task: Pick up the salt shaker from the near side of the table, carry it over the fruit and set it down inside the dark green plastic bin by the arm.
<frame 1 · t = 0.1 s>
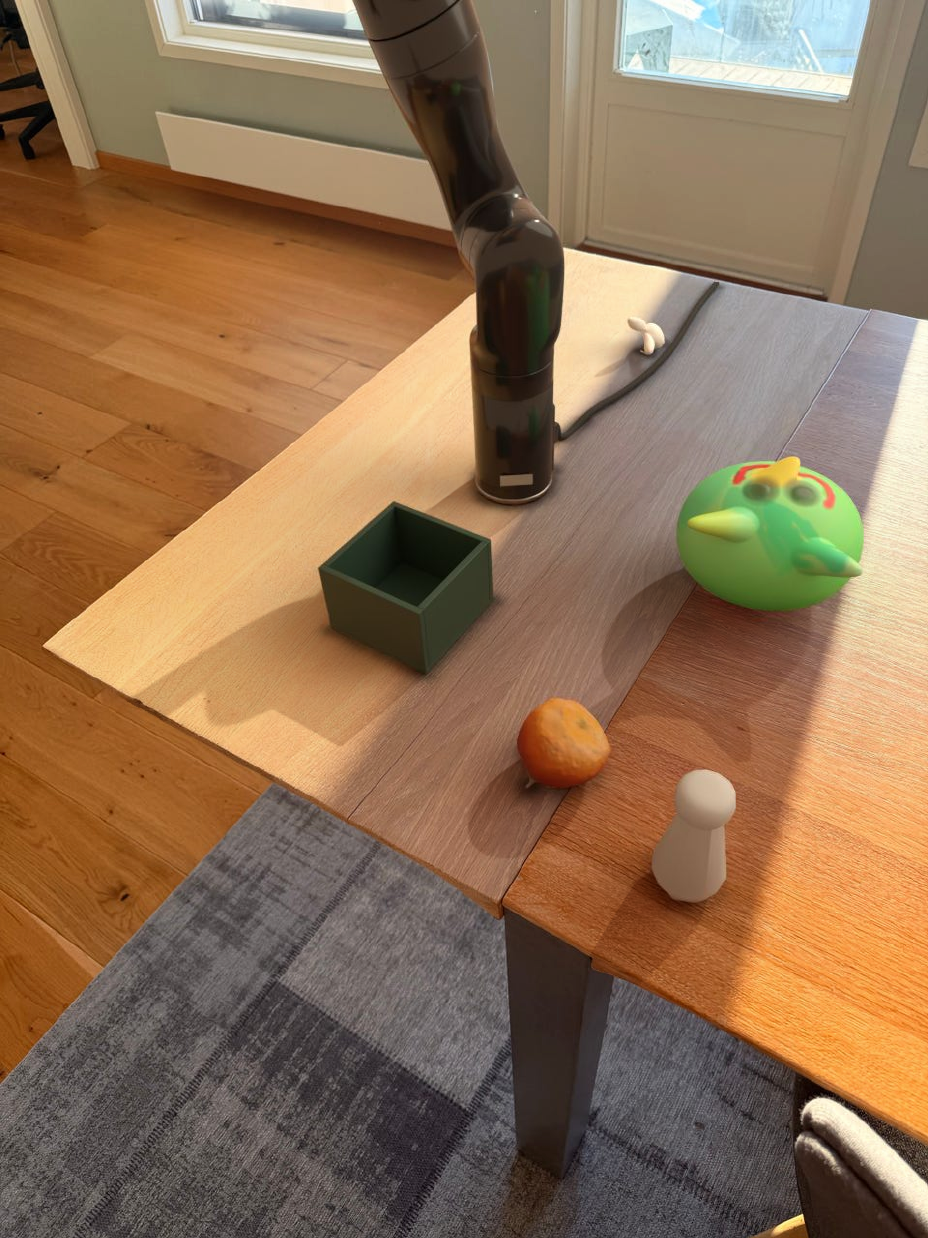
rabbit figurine: (644, 353, 132), on the table
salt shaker: (684, 881, 73), on the table
toy bird: (754, 590, 96), on the table
bin: (413, 614, 96), on the table
fruit: (561, 768, 82), on the table
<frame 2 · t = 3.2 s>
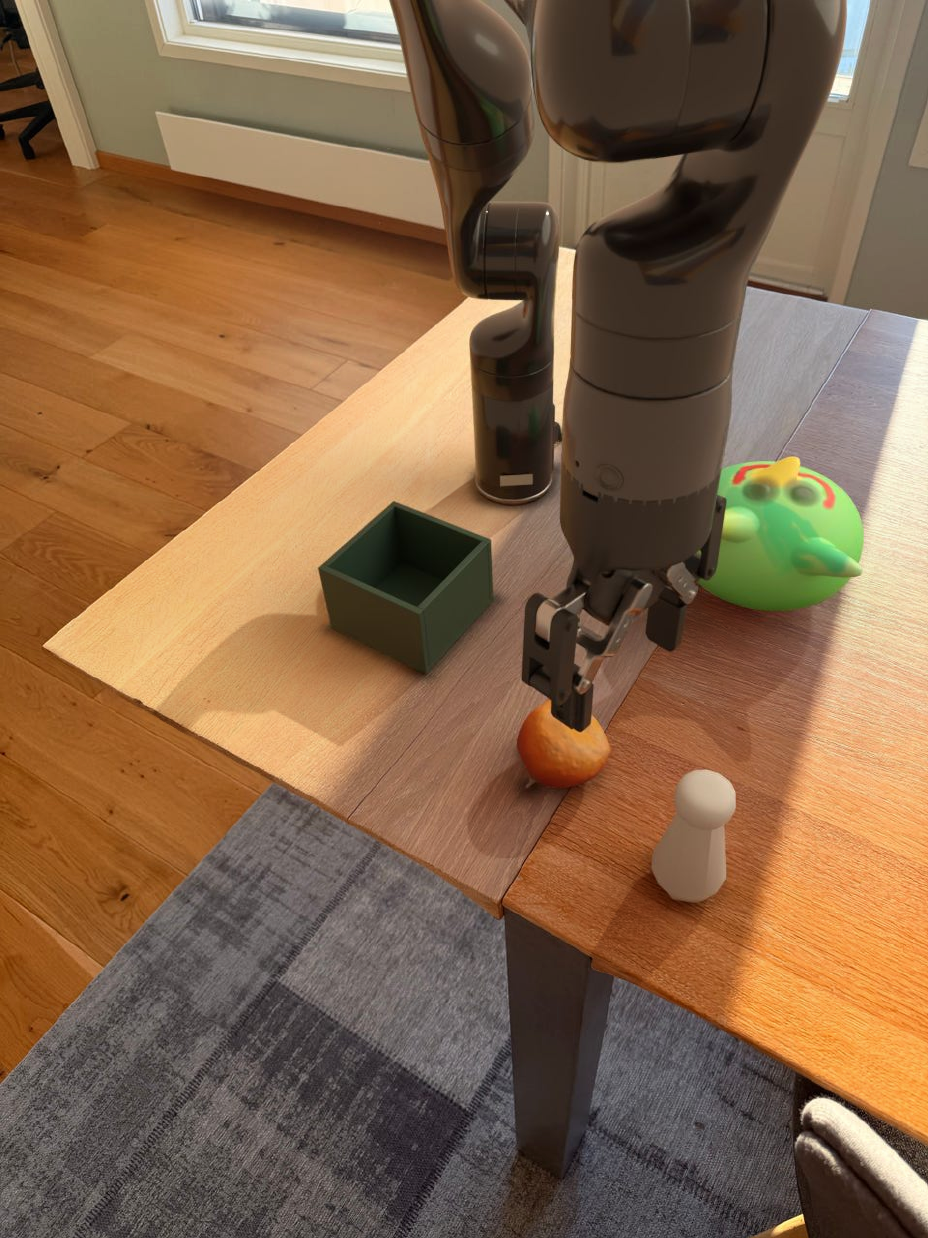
hand: (618, 680, 54), 27 cm above the table, tool pointing down, fingers open, 8 cm apart
nothing on the table moved.
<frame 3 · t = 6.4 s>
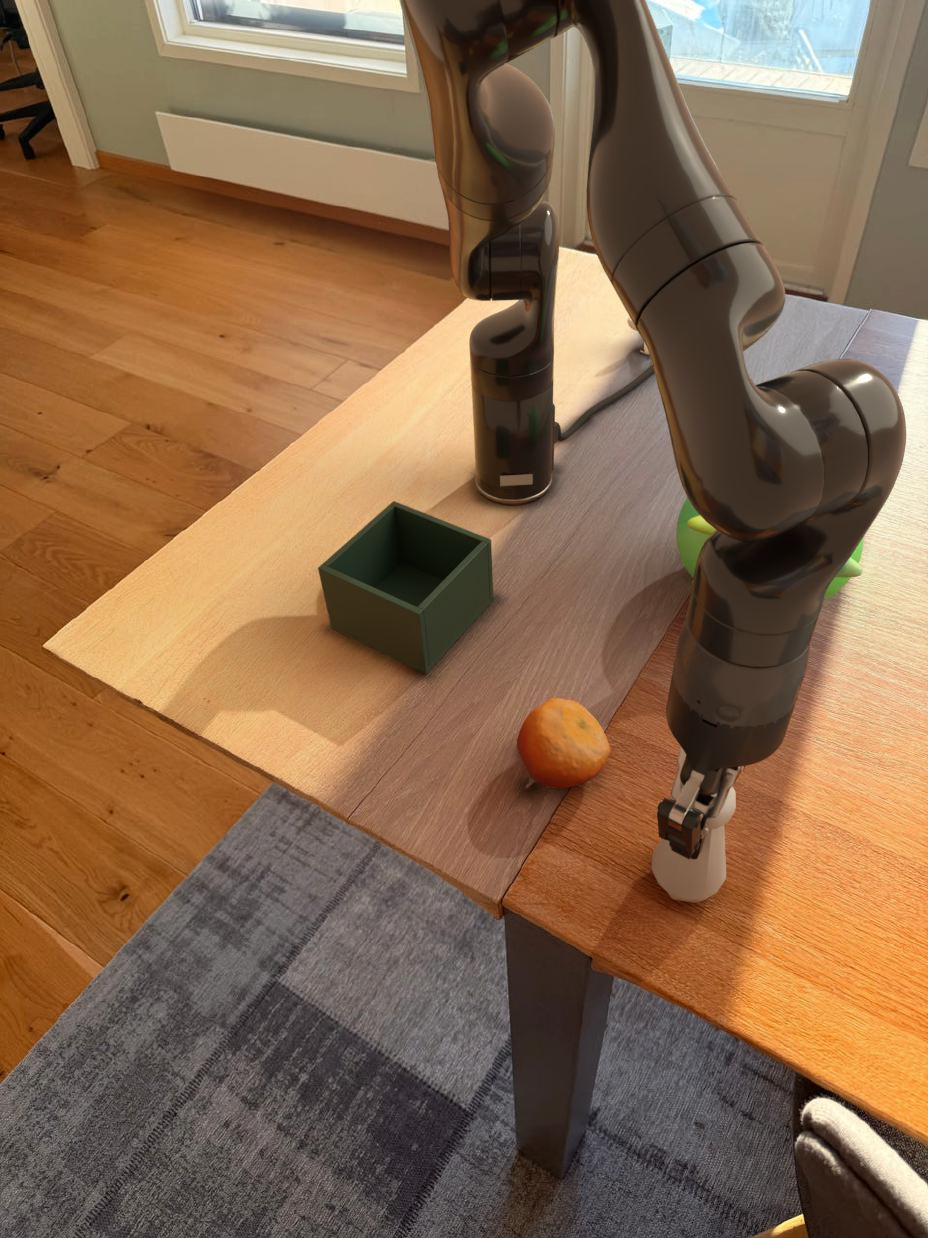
hand: (698, 825, 67), 8 cm above the table, tool pointing down, fingers closed on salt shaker, 4 cm apart
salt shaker: (684, 881, 73), on the table, touching gripper
everything else where it was.
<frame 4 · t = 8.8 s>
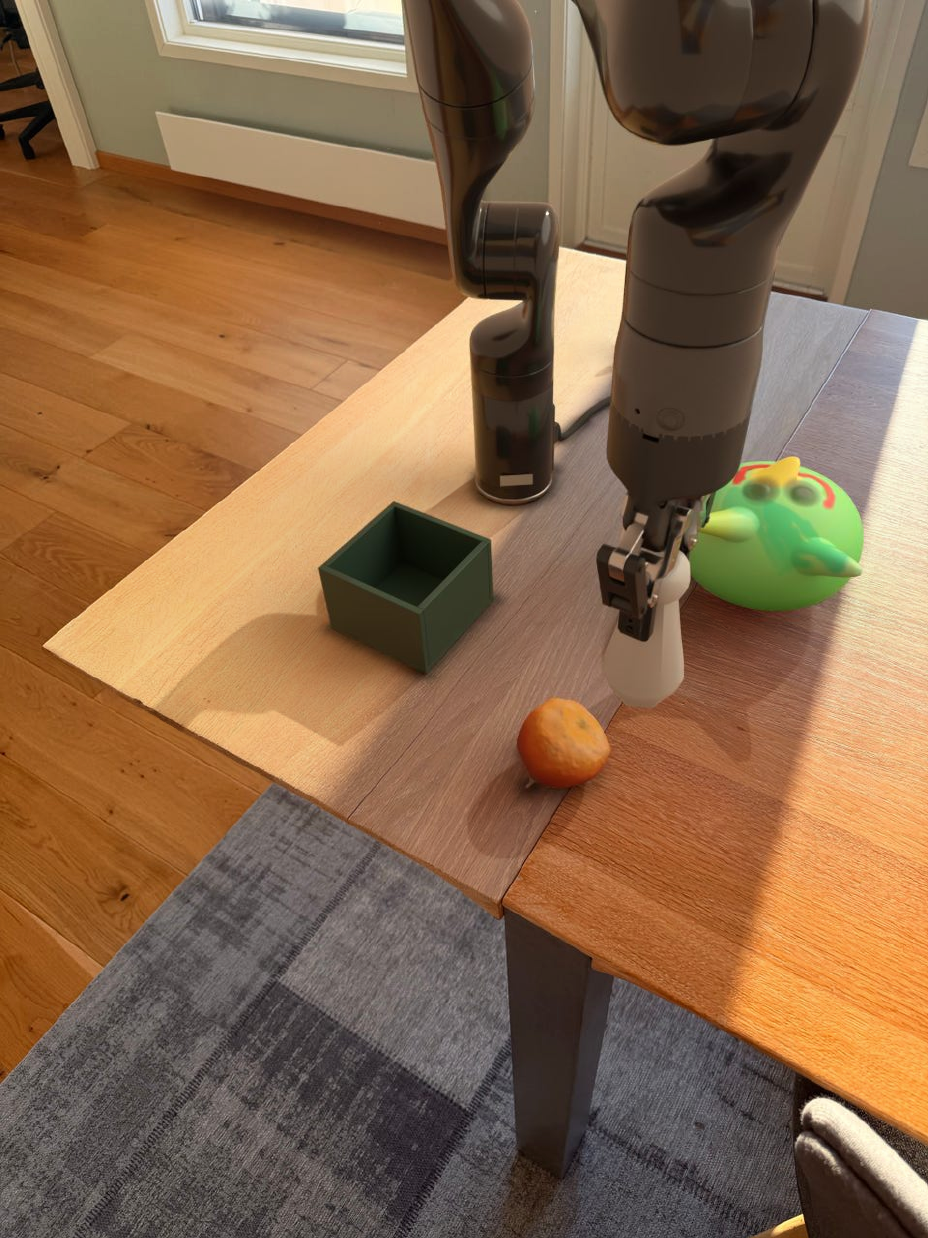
hand: (650, 610, 61), 24 cm above the table, tool pointing down, fingers closed on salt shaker, 4 cm apart
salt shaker: (640, 689, 67), point 16 cm above the table, touching gripper
everything else where it was.
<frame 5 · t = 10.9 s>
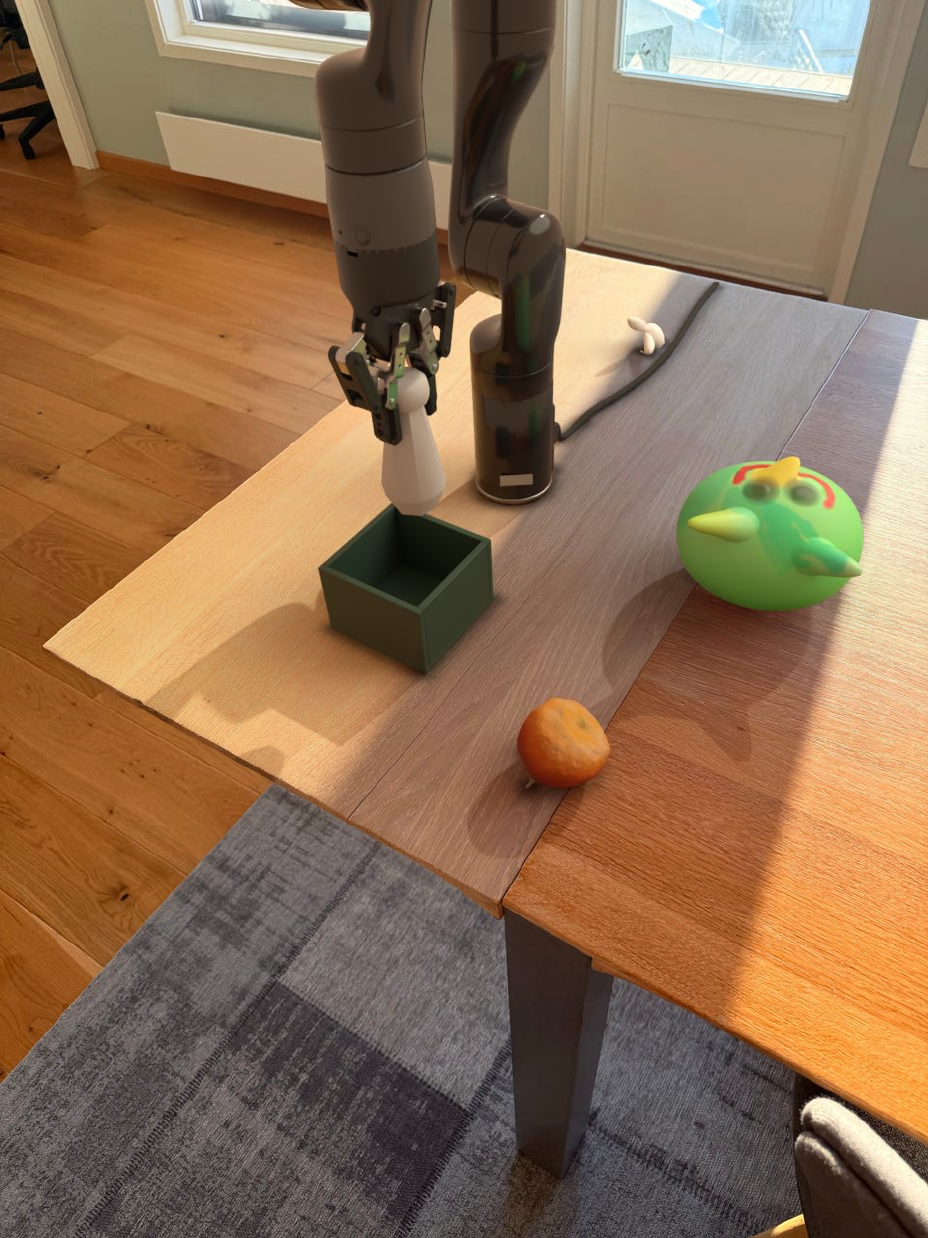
hand: (407, 425, 77), 25 cm above the table, tool pointing down, fingers closed on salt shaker, 4 cm apart
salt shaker: (416, 503, 83), point 16 cm above the table, touching gripper
everything else where it was.
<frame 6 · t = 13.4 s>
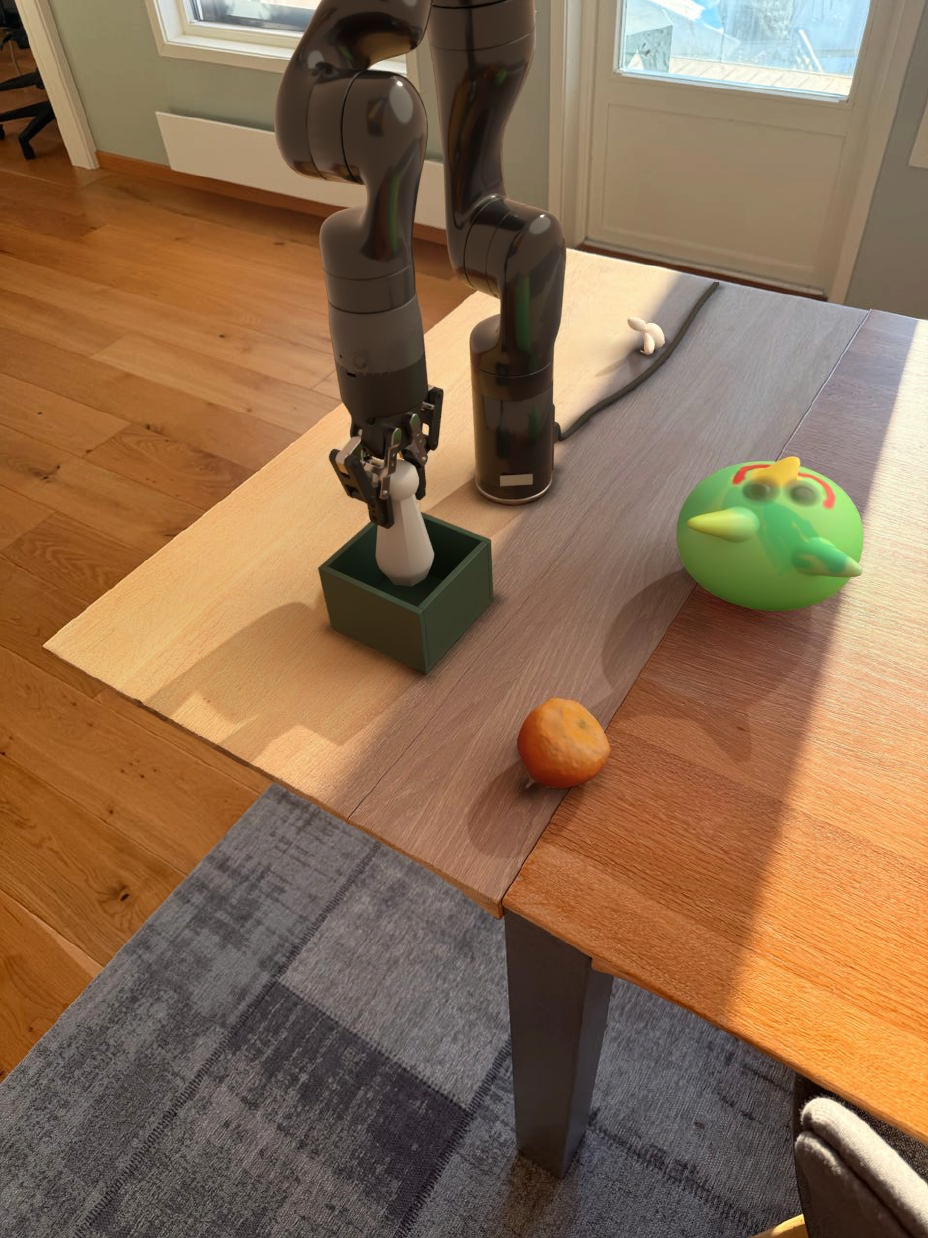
hand: (399, 509, 86), 14 cm above the table, tool pointing down, fingers closed on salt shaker, 4 cm apart
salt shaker: (407, 574, 92), point 6 cm above the table, touching gripper
everything else where it was.
when the fingers open (9 cm above the table, at t = 15.2 s): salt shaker stays where it is, resting on bin.
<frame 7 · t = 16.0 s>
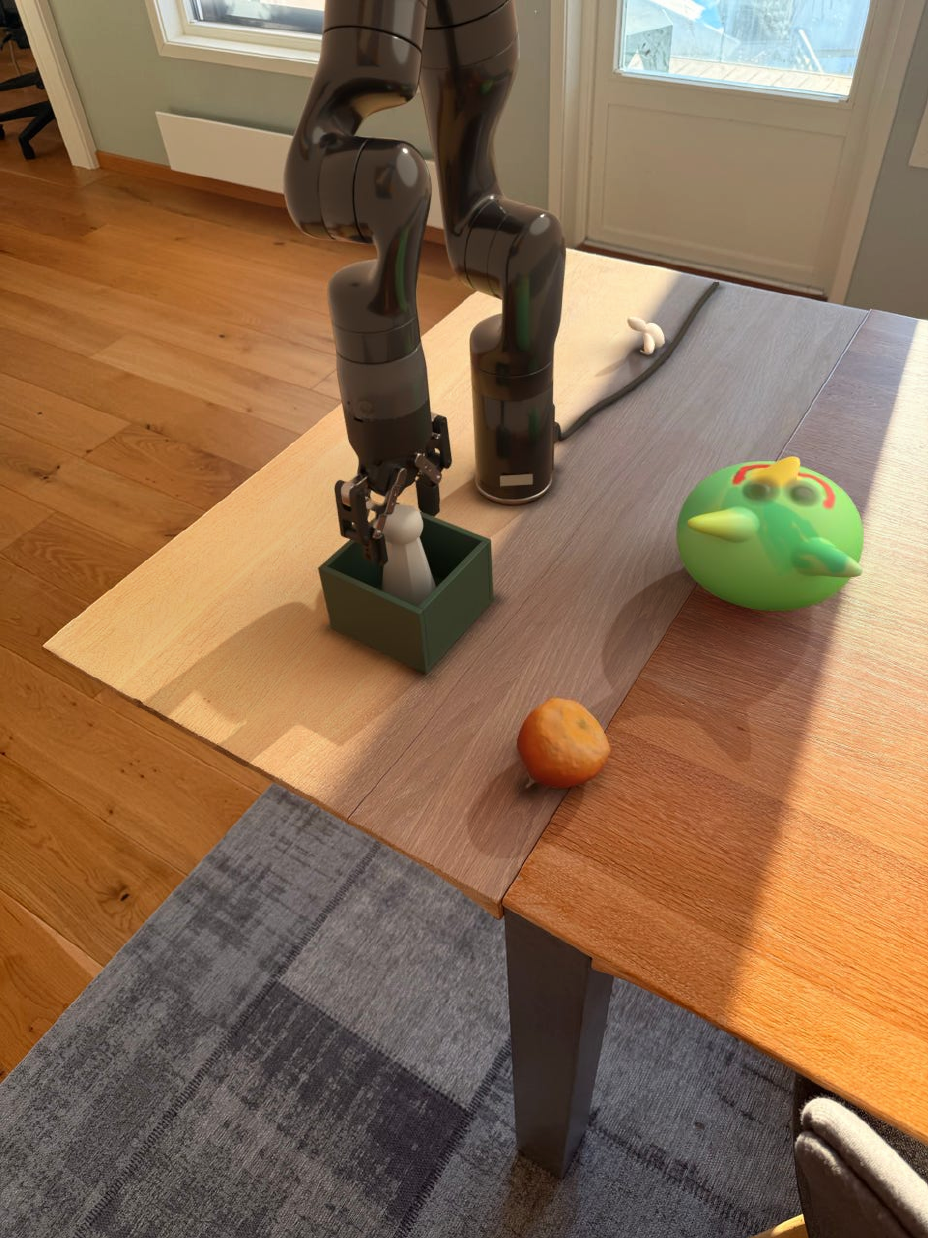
hand: (403, 536, 89), 11 cm above the table, tool pointing down, fingers open, 8 cm apart
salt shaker: (411, 611, 96), resting on bin
everything else where it was.
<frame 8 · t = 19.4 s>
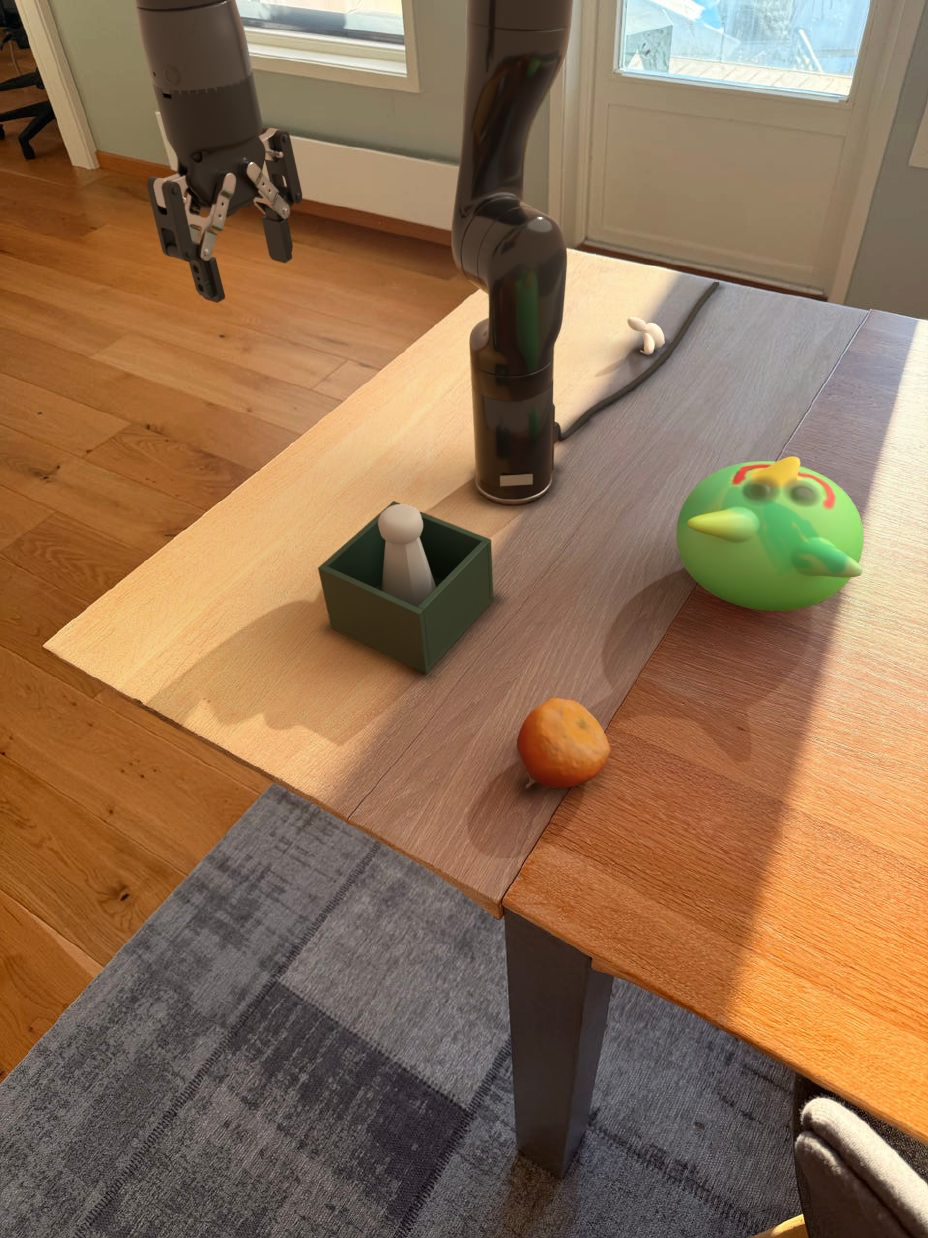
hand: (248, 279, 80), 33 cm above the table, tool pointing down, fingers open, 8 cm apart
nothing on the table moved.
at the end: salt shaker inside the target area in the bin (0.1 cm from its centre), point 0.4 cm above the bin's base; the gripper is holding nothing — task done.
